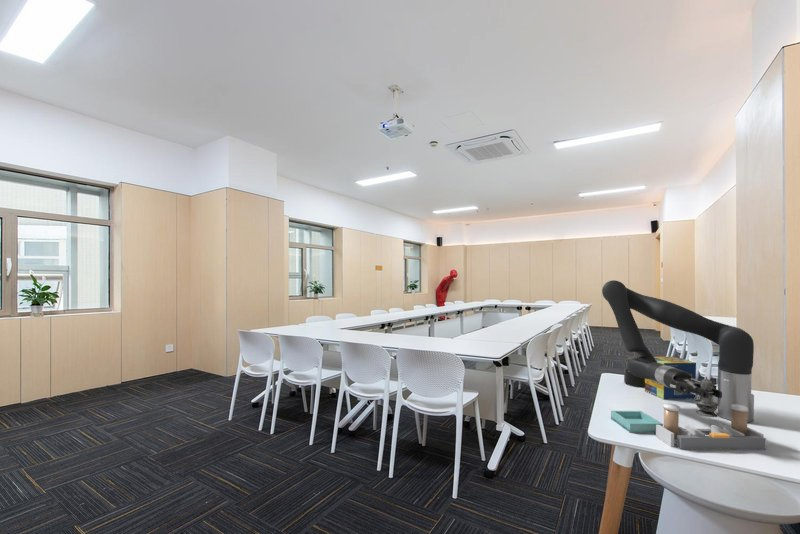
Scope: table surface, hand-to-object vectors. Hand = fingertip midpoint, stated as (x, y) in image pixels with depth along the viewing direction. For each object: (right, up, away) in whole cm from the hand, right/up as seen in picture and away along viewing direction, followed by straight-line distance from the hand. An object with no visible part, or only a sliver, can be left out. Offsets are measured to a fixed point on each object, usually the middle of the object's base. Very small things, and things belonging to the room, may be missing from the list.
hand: (714, 394), depth 115 cm
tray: (-16, -15, +13) cm, 26 cm away
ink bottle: (+13, -16, +59) cm, 63 cm away
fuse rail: (0, -16, +3) cm, 16 cm away
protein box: (+19, -16, +45) cm, 52 cm away
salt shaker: (0, -7, +3) cm, 8 cm away
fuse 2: (+11, -16, +3) cm, 19 cm away
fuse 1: (-11, -15, +3) cm, 19 cm away
